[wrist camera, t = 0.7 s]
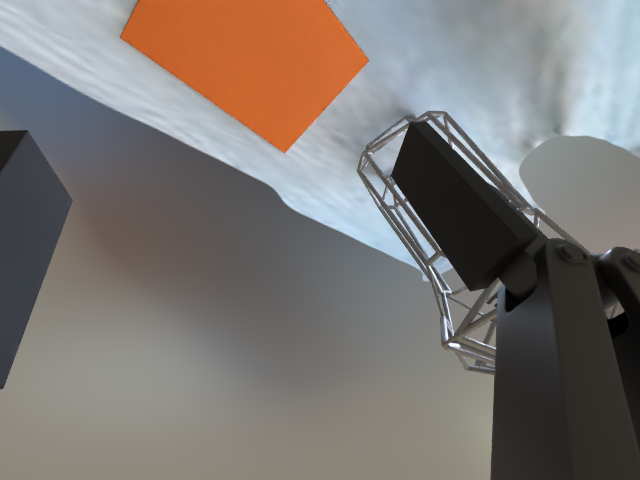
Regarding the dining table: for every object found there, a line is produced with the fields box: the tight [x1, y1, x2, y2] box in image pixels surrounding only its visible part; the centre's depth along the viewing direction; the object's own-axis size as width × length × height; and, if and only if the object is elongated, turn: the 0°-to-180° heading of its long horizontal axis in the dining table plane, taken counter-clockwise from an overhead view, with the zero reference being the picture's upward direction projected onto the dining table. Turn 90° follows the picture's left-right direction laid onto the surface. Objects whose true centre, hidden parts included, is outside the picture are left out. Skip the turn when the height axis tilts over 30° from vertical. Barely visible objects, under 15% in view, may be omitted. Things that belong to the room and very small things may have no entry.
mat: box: [120, 0, 369, 153], centre depth 31 cm, size 20×15×1 cm
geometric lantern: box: [357, 111, 640, 375], centre depth 34 cm, size 16×16×35 cm
